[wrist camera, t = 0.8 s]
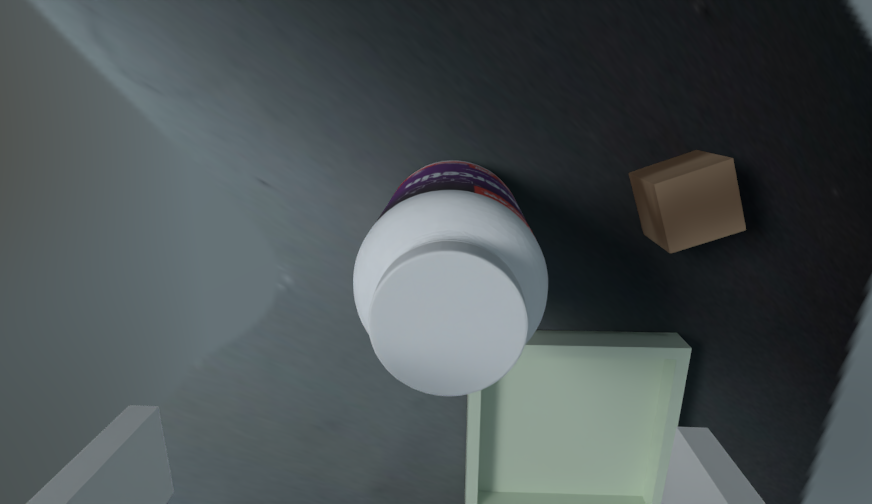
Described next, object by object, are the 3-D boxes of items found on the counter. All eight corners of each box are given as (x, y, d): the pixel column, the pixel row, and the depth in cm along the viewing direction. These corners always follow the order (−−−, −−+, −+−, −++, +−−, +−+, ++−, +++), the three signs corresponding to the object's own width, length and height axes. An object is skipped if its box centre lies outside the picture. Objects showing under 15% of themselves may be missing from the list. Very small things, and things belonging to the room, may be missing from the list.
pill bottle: (533, 175, 29) (603, 243, 15) (498, 295, 32) (531, 447, 18) (402, 143, 29) (354, 185, 15) (376, 267, 31) (315, 399, 18)
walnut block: (628, 172, 29) (654, 184, 25) (695, 149, 29) (733, 158, 25) (643, 233, 30) (670, 253, 26) (708, 212, 30) (746, 229, 26)
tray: (469, 328, 32) (469, 343, 30) (676, 332, 32) (691, 348, 30) (464, 493, 37) (465, 516, 35) (649, 498, 36) (660, 522, 34)
